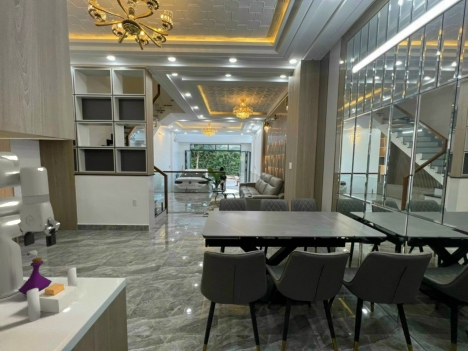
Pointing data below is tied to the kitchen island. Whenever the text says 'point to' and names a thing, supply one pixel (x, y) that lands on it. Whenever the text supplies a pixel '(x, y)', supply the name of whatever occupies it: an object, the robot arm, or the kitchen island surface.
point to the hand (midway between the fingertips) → (40, 245)
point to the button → (54, 289)
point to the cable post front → (33, 304)
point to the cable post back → (72, 277)
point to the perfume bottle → (35, 276)
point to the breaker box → (58, 299)
